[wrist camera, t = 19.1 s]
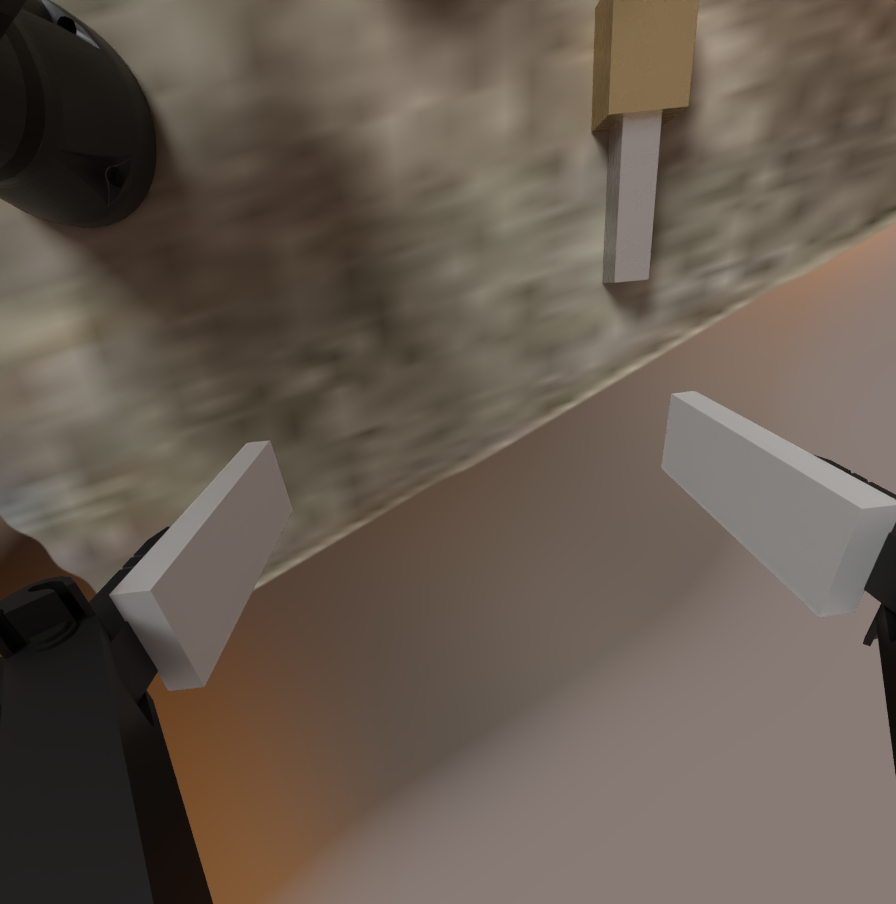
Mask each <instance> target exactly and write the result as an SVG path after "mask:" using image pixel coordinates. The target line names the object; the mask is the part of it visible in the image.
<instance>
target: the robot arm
mask: <svg viewBox="0 0 896 904" xmlns="http://www.w3.org/2000/svg"><path fill="white" fill-rule="evenodd" d="M155 159H156V144H155V134H154V128H153V123H152V119H151V115H150V112H149V109H148V106H147V103H146V101H145V98H144V96H143V94H142V91H141V89H140V87H139V85H138V83H137V82H136V80H135V78H134V76H133V75H132V73H131V71H130V70H129V68H128V67H127V65H126V64H125V63H124V61H123V60H122V59H121V57H120V56H119V55H118V54H117V52H116V51H115V50H114V49H113V48H112V47H111V46H110V45H109V44H108V43H107V42H106V41H105V40H104V39H103V38H102V37H101V36H100V35H99V34H98V33H96V32H95V31H94V30H93V29H91V28H90V27H89V26H87V25H86V24H85V23H83V22H82V21H80V20H79V19H78V18H76V17H75V16H73V15H72V14H71V13H69V12H68V11H66V10H65V9H63V8H62V7H60V6H59V5H57V4H55V3H53V2H52V1H50V0H0V199H2V200H4V201H6V202H8V203H10V204H12V205H13V206H15V207H17V208H19V209H21V210H22V211H24V212H26V213H28V214H31V215H33V216H36V217H38V218H41V219H44V220H47V221H51V222H55V223H61V224H67V225H73V226H79V227H100V226H106V225H110V224H113V223H115V222H117V221H120V220H122V219H123V218H125V217H126V216H128V215H129V214H130V213H132V212H133V211H134V210H135V209H136V208H137V207H138V206H139V204H140V203H141V202H142V200H143V199H144V197H145V195H146V193H147V191H148V189H149V187H150V184H151V181H152V178H153V174H154V168H155ZM661 468H662V469H663V470H664V471H665V472H666V473H667V474H668V475H669V476H670V477H671V478H672V479H673V480H674V481H675V482H677V483H678V484H679V485H680V486H681V487H682V488H683V489H684V490H685V491H686V492H687V493H688V494H689V495H690V496H692V498H694V500H696V501H697V502H698V503H699V504H700V505H701V506H702V507H703V508H704V509H705V510H706V511H707V512H709V514H710V515H711V516H713V517H714V518H715V519H716V520H717V521H718V522H719V523H720V524H721V525H722V526H723V527H724V528H725V529H726V530H728V532H730V534H732V535H733V536H734V537H735V538H736V539H737V540H738V541H739V542H740V543H741V544H742V545H743V546H744V547H745V548H746V549H747V550H749V551H750V552H751V553H752V554H753V555H754V556H755V557H756V558H757V559H758V560H759V561H760V562H761V563H762V564H763V565H764V566H765V567H766V568H768V569H769V570H770V571H771V572H772V573H773V574H774V575H775V576H776V577H777V578H778V579H779V580H780V581H781V582H782V583H783V584H784V585H786V586H787V587H788V588H789V589H790V590H791V591H792V592H793V593H794V594H795V595H796V596H797V597H798V598H799V599H800V600H801V601H802V602H803V603H805V604H806V605H807V606H808V607H809V608H810V609H811V610H812V611H813V612H814V613H815V614H816V615H817V616H818V617H822V616H831V615H840V614H849V613H855V611H856V609H857V607H858V605H859V602H860V600H861V598H862V596H863V594H864V591H867V592H868V593H869V594H871V595H872V596H873V597H874V598H876V599H877V600H878V601H880V602H881V605H880V607H879V609H878V611H877V614H876V616H875V617H874V619H873V622H872V624H871V626H870V628H869V630H868V632H867V634H866V636H865V639H864V642H863V644H865V645H868V646H870V645H871V644H872V642H873V639H877V638H878V641H879V650H880V657H881V665H882V673H883V681H884V688H885V696H886V704H887V712H888V719H889V727H890V734H891V742H892V750H893V758H894V765H895V774H896V495H895V494H893V493H891V492H889V491H888V490H886V489H884V488H882V487H880V486H878V485H876V484H874V483H873V482H868V481H867V479H865V478H863V477H861V476H859V475H857V474H856V473H851V471H850V470H848V469H846V468H844V467H842V466H840V465H839V464H836V463H835V462H833V461H831V460H828V459H825V458H822V457H819V456H816V455H812V454H810V453H808V452H807V451H805V450H803V449H801V448H799V447H797V446H796V445H794V444H792V443H790V442H788V441H786V440H784V439H782V438H781V437H779V436H777V435H775V434H773V433H772V432H770V431H768V430H766V429H764V428H762V427H760V426H758V425H756V424H755V423H753V422H751V421H749V420H748V419H746V418H744V417H742V416H740V415H738V414H736V413H735V412H733V411H731V410H729V409H727V408H725V407H723V406H722V405H719V404H718V403H716V402H714V401H712V400H710V399H709V398H707V397H705V396H703V395H701V394H699V393H698V392H696V391H692V392H683V393H675V394H671V401H670V408H669V415H668V423H667V430H666V437H665V444H664V452H663V459H662V466H661ZM292 511H293V510H292V507H291V503H290V500H289V497H288V494H287V491H286V488H285V485H284V482H283V479H282V476H281V473H280V469H279V466H278V463H277V460H276V457H275V454H274V451H273V448H272V445H271V442H270V440H268V441H259V442H251V443H246V444H245V445H244V446H243V448H242V449H241V450H240V451H239V452H238V453H237V454H236V455H235V456H234V458H233V459H232V460H231V461H230V462H229V463H228V464H227V465H226V466H225V467H224V469H223V470H222V471H221V472H220V473H219V474H218V475H217V476H216V477H215V479H214V480H213V481H212V482H211V483H210V484H209V485H208V486H207V487H206V488H205V490H204V491H203V492H202V493H201V494H200V495H199V496H198V497H197V498H196V499H195V501H194V502H193V503H192V504H191V505H190V506H189V507H188V508H187V509H186V511H185V512H184V513H183V514H182V515H181V516H180V517H179V518H178V519H177V520H176V522H175V523H174V524H173V525H172V526H171V527H166V528H165V529H163V530H162V531H160V532H159V533H157V534H156V535H155V536H153V537H152V538H150V539H149V540H147V541H146V542H145V543H144V545H143V546H142V547H141V548H140V549H139V550H138V551H137V552H136V553H135V554H134V557H132V558H130V559H129V560H128V561H127V563H126V564H125V565H124V566H123V569H122V570H119V571H118V572H117V573H116V574H115V575H114V576H113V577H112V578H111V579H110V581H109V582H108V583H107V584H106V585H105V586H104V587H103V588H102V589H101V590H100V591H99V592H98V593H97V594H96V595H95V597H94V598H93V599H92V600H91V601H90V602H88V601H87V599H86V598H85V596H84V595H83V593H82V592H81V590H80V589H79V587H78V586H77V584H76V583H75V582H74V580H73V579H72V578H71V577H64V576H59V577H53V578H48V579H45V580H41V581H39V582H36V583H33V584H30V585H28V586H26V587H24V588H22V589H20V590H18V591H16V592H14V593H12V594H10V595H8V596H7V597H5V598H4V599H2V600H1V601H0V654H1V655H2V656H3V657H0V904H213V902H212V898H211V895H210V891H209V888H208V885H207V881H206V878H205V874H204V872H203V868H202V864H201V861H200V858H199V854H198V851H197V847H196V844H195V841H194V838H193V834H192V830H191V827H190V824H189V820H188V817H187V814H186V810H185V807H184V804H183V800H182V796H181V793H180V790H179V786H178V783H177V779H176V776H175V773H174V769H173V766H172V763H171V759H170V756H169V752H168V749H167V746H166V742H165V739H164V735H163V732H162V729H161V725H160V722H159V718H158V715H157V712H156V708H155V705H154V702H153V699H152V698H151V696H150V695H149V693H148V692H147V688H148V686H149V685H150V683H151V682H152V680H153V678H154V677H155V675H156V674H157V673H158V674H159V676H160V677H161V679H162V681H163V682H164V684H165V685H166V687H167V689H168V690H169V691H171V690H179V689H189V688H197V687H205V684H206V683H207V680H208V678H209V676H210V675H211V673H212V670H213V669H214V667H215V664H216V662H217V661H218V659H219V657H220V654H221V653H222V651H223V649H224V647H225V645H226V643H227V641H228V639H229V636H230V635H231V633H232V630H233V628H234V627H235V625H236V623H237V620H238V619H239V617H240V615H241V613H242V611H243V609H244V607H245V604H246V603H247V601H248V599H249V597H250V595H251V593H252V591H253V589H254V587H255V585H256V583H257V581H258V579H259V577H260V575H261V573H262V571H263V569H264V567H265V565H266V563H267V561H268V559H269V557H270V555H271V553H272V551H273V549H274V547H275V545H276V543H277V541H278V539H279V537H280V535H281V533H282V531H283V529H284V527H285V525H286V523H287V521H288V519H289V517H290V515H291V513H292Z"/></svg>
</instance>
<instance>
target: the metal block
mask: <svg viewBox="0 0 896 904" xmlns="http://www.w3.org/2000/svg"><path fill="white" fill-rule="evenodd" d="M698 5H699V0H600V1H599V2H598V4H597V6H596V8H595V32H594V64H593V95H592V127H591V133H592V132H602V131H609V145H608V168H607V191H606V214H605V237H604V260H603V283H617V282H627V281H638V280H649V268H650V256H651V244H652V231H653V219H654V206H655V194H656V182H657V169H658V157H659V144H660V132H661V125H664V124H665V123H666V122H668V121H669V120H670V119H672V118H673V117H675V116H676V115H677V114H679V113H680V112H681V111H683V110H684V109H685V108H687V107H688V106H689V95H690V85H691V75H692V65H693V55H694V45H695V35H696V25H697V15H698Z"/></svg>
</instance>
